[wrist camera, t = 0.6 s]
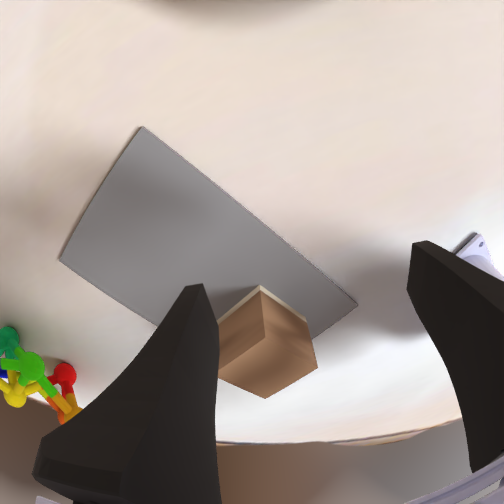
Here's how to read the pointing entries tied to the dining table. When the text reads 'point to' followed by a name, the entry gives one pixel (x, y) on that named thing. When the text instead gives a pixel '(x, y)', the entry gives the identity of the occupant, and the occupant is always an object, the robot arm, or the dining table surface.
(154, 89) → the dining table surface
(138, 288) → the mat
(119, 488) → the robot arm
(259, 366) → the walnut cube
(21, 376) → the decorative model
